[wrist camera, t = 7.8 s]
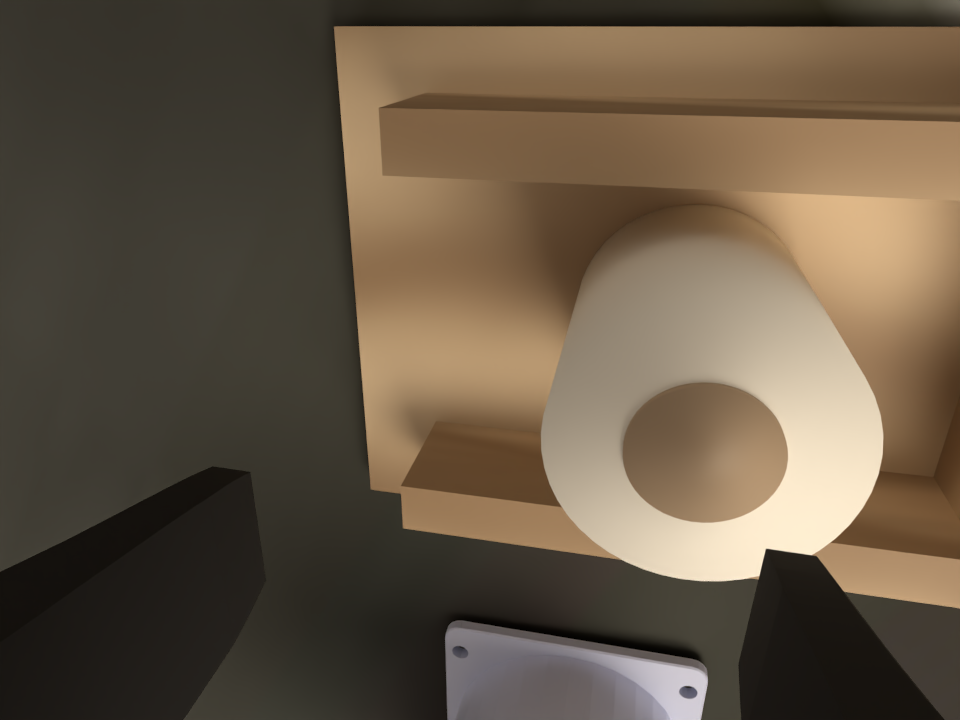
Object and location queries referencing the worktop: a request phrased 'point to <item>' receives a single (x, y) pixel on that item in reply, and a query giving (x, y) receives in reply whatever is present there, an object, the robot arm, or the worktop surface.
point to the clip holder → (623, 198)
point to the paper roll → (706, 402)
